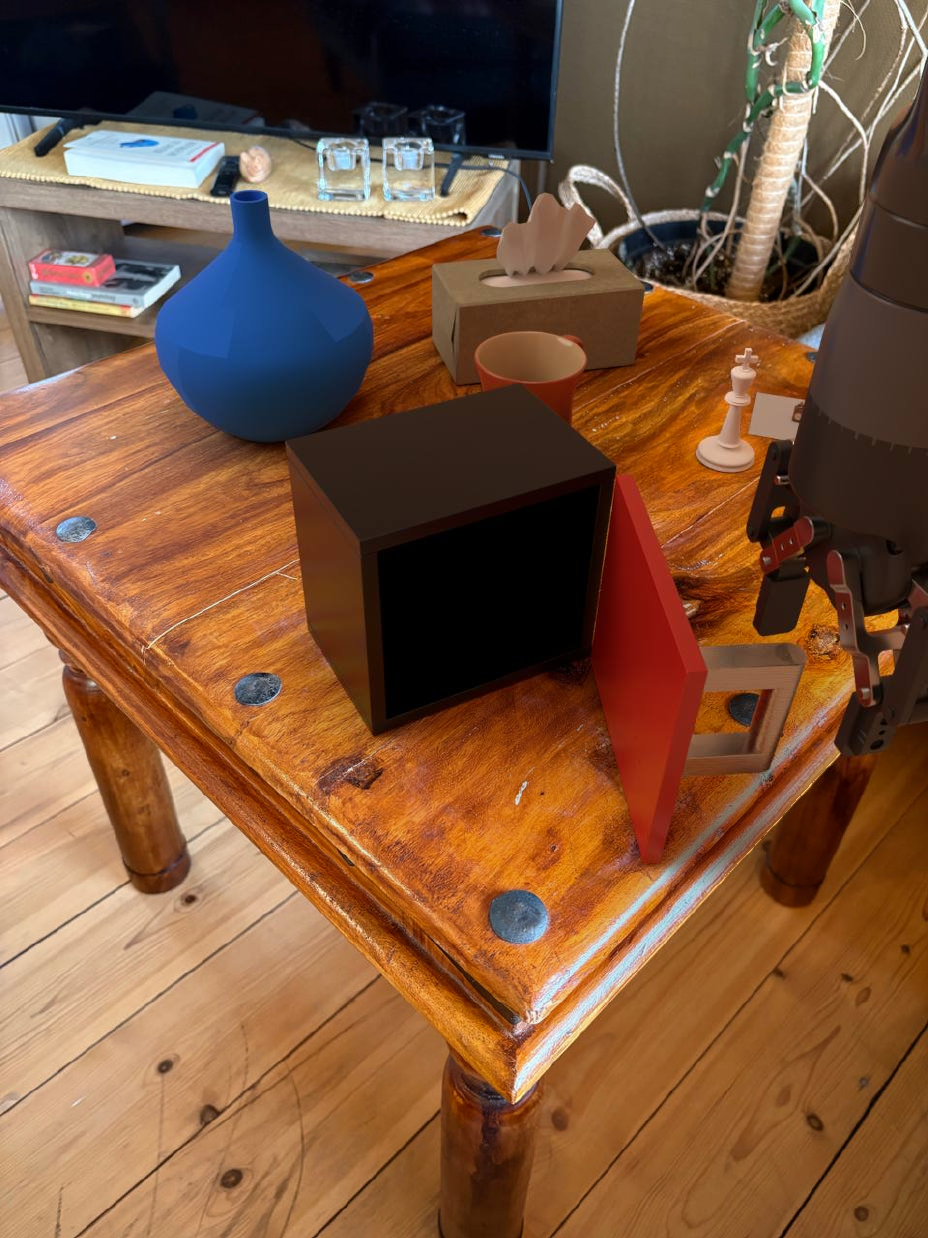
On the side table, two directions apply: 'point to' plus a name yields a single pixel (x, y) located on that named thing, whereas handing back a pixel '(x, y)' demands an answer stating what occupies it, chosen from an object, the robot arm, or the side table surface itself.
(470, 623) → the dark brown cabinet
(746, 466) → the chess piece
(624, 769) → the door
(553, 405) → the mug
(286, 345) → the vase
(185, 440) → the side table surface
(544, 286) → the tissue box
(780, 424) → the grey square plate
